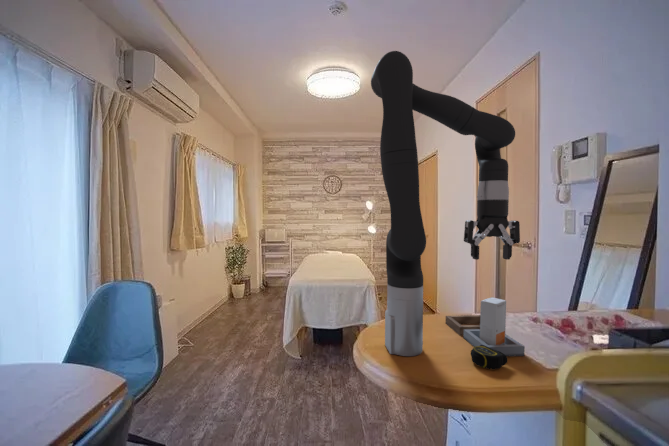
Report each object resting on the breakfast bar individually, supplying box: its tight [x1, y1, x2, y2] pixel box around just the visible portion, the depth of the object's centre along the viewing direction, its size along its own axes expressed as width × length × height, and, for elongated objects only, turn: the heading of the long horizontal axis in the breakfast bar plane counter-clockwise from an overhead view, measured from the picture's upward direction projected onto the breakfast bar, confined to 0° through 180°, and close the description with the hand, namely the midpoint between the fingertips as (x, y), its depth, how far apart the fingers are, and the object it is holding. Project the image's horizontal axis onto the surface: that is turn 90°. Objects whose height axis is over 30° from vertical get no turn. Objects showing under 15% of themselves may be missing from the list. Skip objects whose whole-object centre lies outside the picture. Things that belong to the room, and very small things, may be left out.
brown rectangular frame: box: [445, 314, 480, 336], centre depth 99 cm, size 12×10×2 cm
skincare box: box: [479, 297, 507, 345], centre depth 86 cm, size 6×4×12 cm
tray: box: [463, 329, 525, 358], centre depth 86 cm, size 10×12×2 cm
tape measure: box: [470, 345, 508, 370], centre depth 76 cm, size 7×7×4 cm
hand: (491, 259), depth 86 cm, fingers open, 8 cm apart
